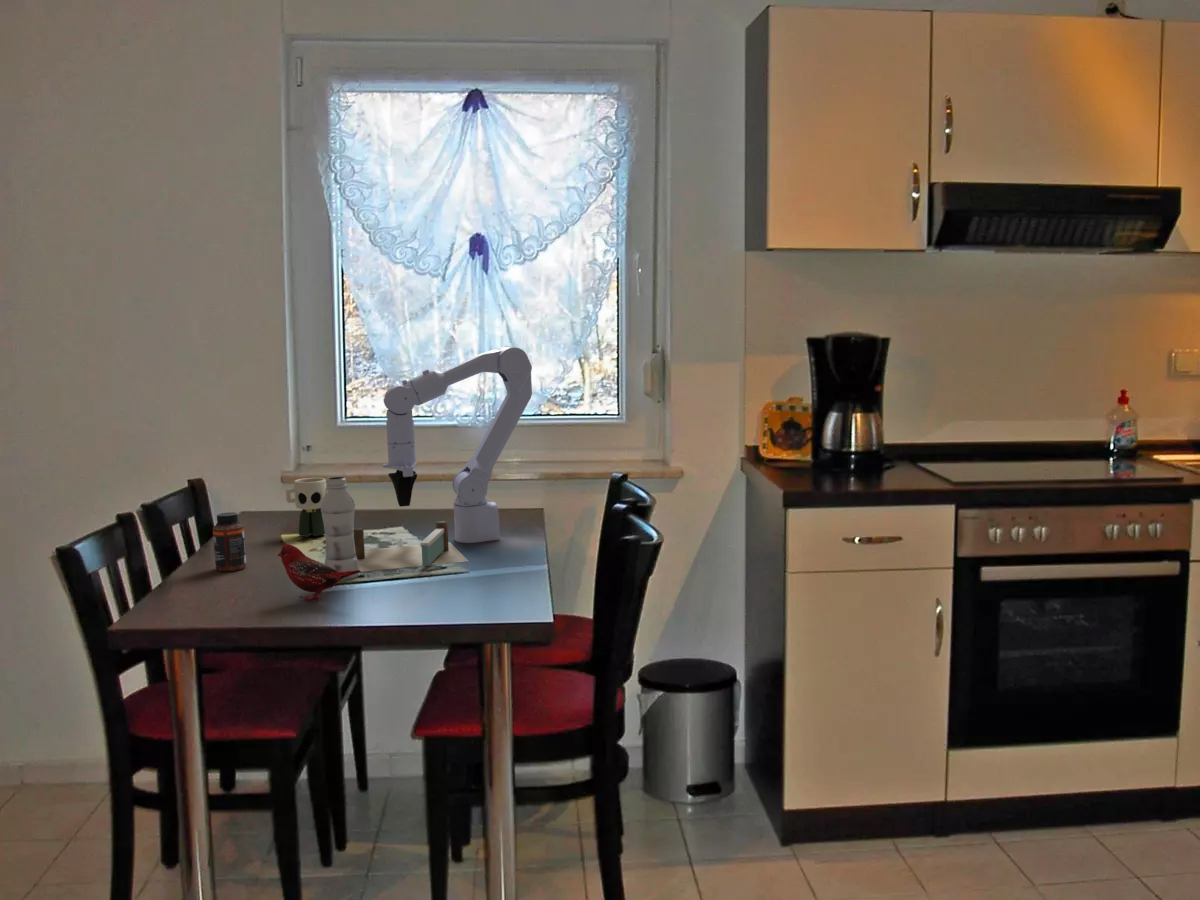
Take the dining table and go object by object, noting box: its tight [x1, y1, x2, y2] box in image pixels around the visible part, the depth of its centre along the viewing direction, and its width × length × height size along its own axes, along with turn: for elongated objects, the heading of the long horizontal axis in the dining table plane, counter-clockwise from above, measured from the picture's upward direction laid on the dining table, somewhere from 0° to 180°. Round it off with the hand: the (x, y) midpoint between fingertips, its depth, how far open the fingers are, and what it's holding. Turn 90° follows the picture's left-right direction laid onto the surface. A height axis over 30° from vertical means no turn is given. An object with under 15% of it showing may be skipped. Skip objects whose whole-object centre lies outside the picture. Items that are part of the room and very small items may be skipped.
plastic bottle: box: [321, 476, 359, 582], centre depth 216 cm, size 6×7×20 cm
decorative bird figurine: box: [277, 543, 362, 601], centre depth 203 cm, size 3×18×10 cm, turn 67°
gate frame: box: [353, 520, 469, 573], centre depth 233 cm, size 22×20×7 cm
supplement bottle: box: [212, 511, 247, 572], centre depth 230 cm, size 6×6×11 cm
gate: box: [419, 528, 444, 567], centre depth 229 cm, size 14×2×4 cm, turn 175°
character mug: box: [285, 477, 328, 537], centre depth 261 cm, size 11×7×13 cm, turn 97°
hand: (404, 505), depth 244 cm, fingers closed
